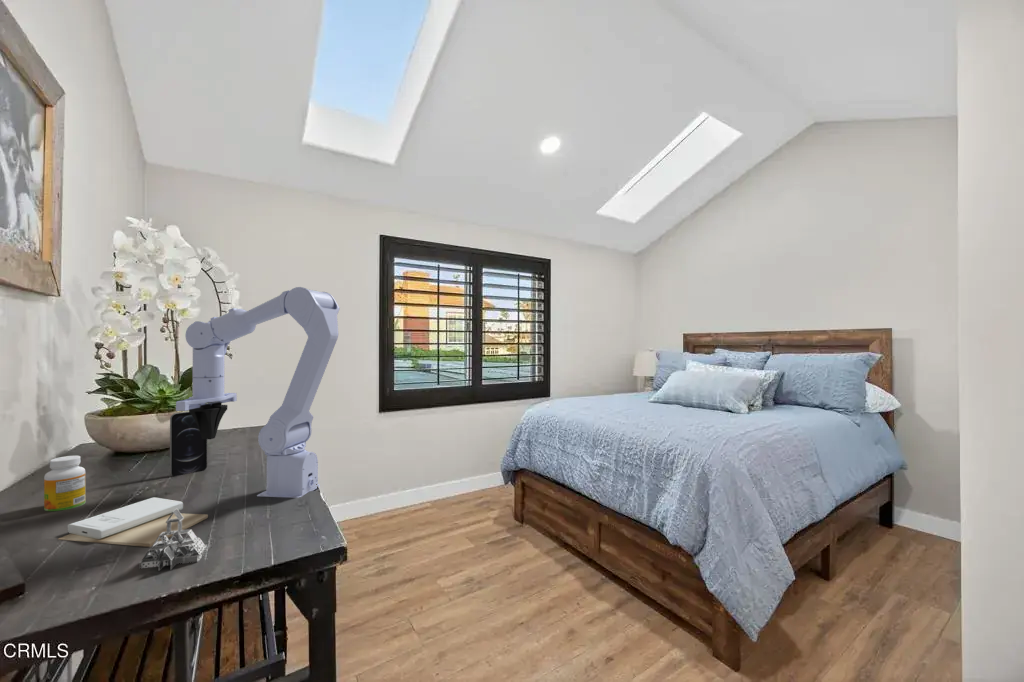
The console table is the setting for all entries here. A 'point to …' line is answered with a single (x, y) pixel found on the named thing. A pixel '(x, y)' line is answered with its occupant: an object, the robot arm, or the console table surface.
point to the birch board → (143, 531)
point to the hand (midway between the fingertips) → (208, 438)
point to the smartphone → (186, 445)
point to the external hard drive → (124, 518)
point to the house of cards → (174, 547)
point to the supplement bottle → (64, 484)
